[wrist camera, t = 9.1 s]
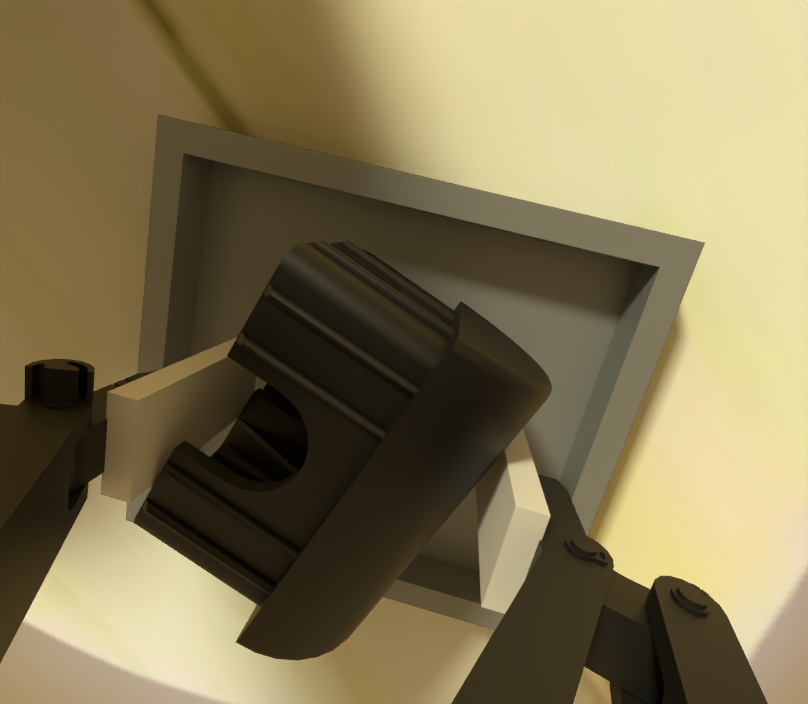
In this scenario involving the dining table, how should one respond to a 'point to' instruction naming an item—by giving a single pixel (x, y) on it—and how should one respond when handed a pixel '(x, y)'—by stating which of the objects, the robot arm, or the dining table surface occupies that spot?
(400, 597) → the seat tray
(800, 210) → the dining table surface
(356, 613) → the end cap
